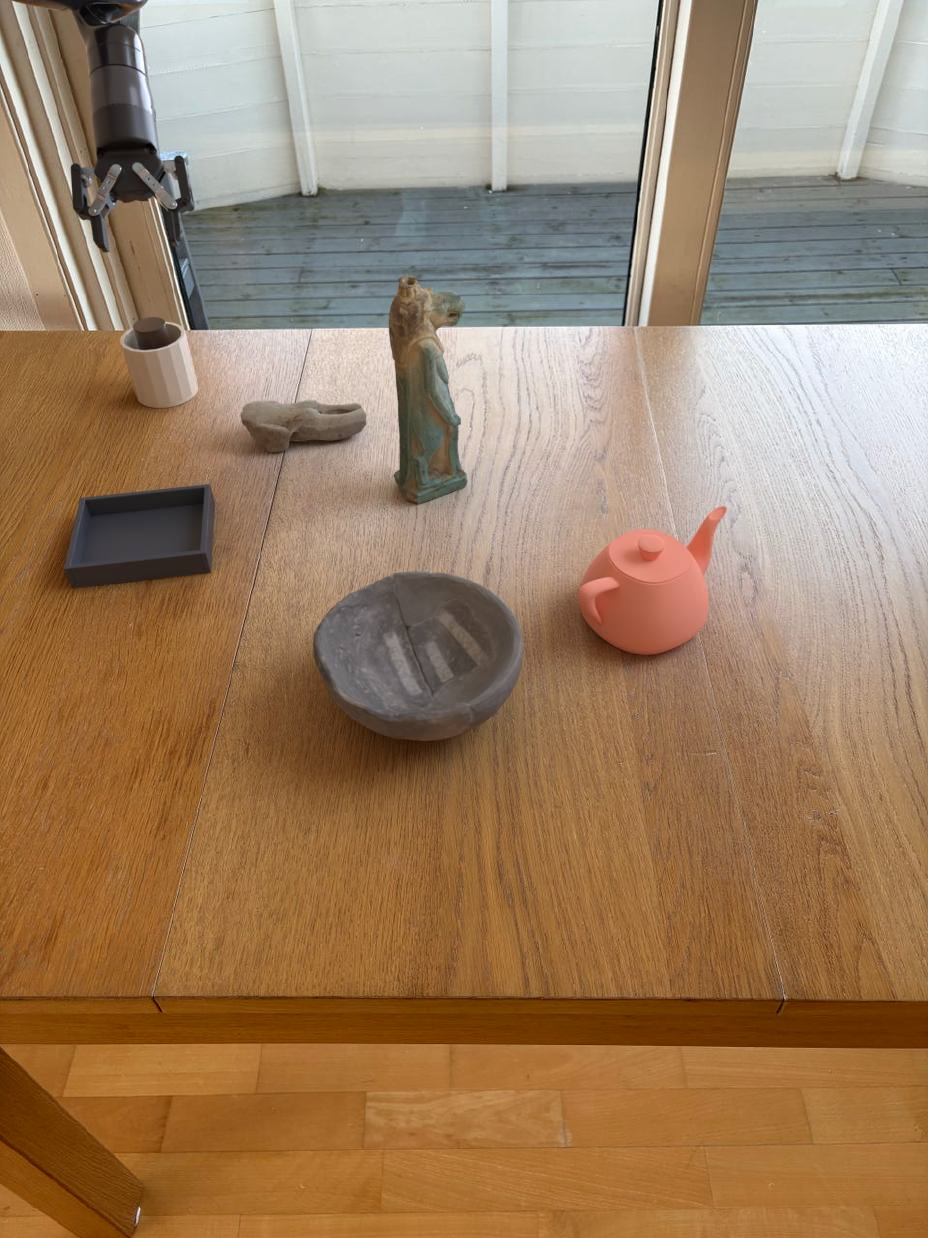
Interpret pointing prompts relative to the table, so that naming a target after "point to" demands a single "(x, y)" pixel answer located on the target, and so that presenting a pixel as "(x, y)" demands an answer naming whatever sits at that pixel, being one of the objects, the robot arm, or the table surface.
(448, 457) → the statue
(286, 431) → the sculpture
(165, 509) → the tray
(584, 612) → the teapot
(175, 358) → the cup
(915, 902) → the table surface
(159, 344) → the walnut peg
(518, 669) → the bowl
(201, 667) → the table surface
